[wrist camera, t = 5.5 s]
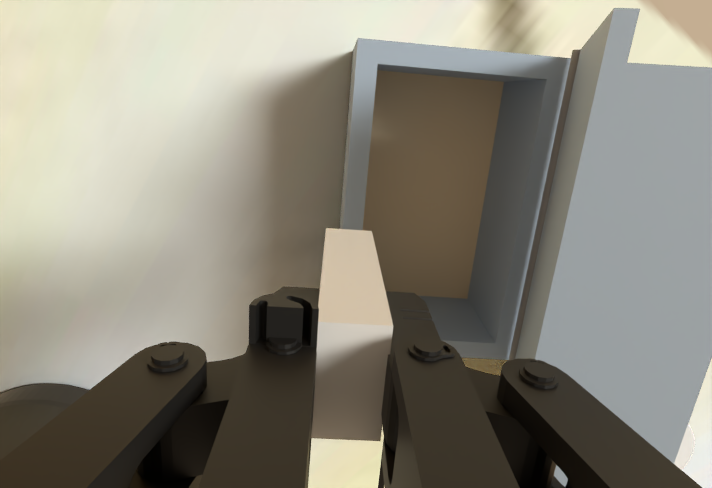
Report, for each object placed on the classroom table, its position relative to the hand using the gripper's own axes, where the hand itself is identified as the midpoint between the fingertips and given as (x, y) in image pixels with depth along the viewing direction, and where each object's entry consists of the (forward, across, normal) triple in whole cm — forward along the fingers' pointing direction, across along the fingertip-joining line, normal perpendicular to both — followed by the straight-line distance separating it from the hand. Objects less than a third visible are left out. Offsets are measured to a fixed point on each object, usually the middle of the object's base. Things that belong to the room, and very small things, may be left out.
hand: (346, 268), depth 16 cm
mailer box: (+16, +5, 0) cm, 16 cm away
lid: (+4, +8, 0) cm, 9 cm away
